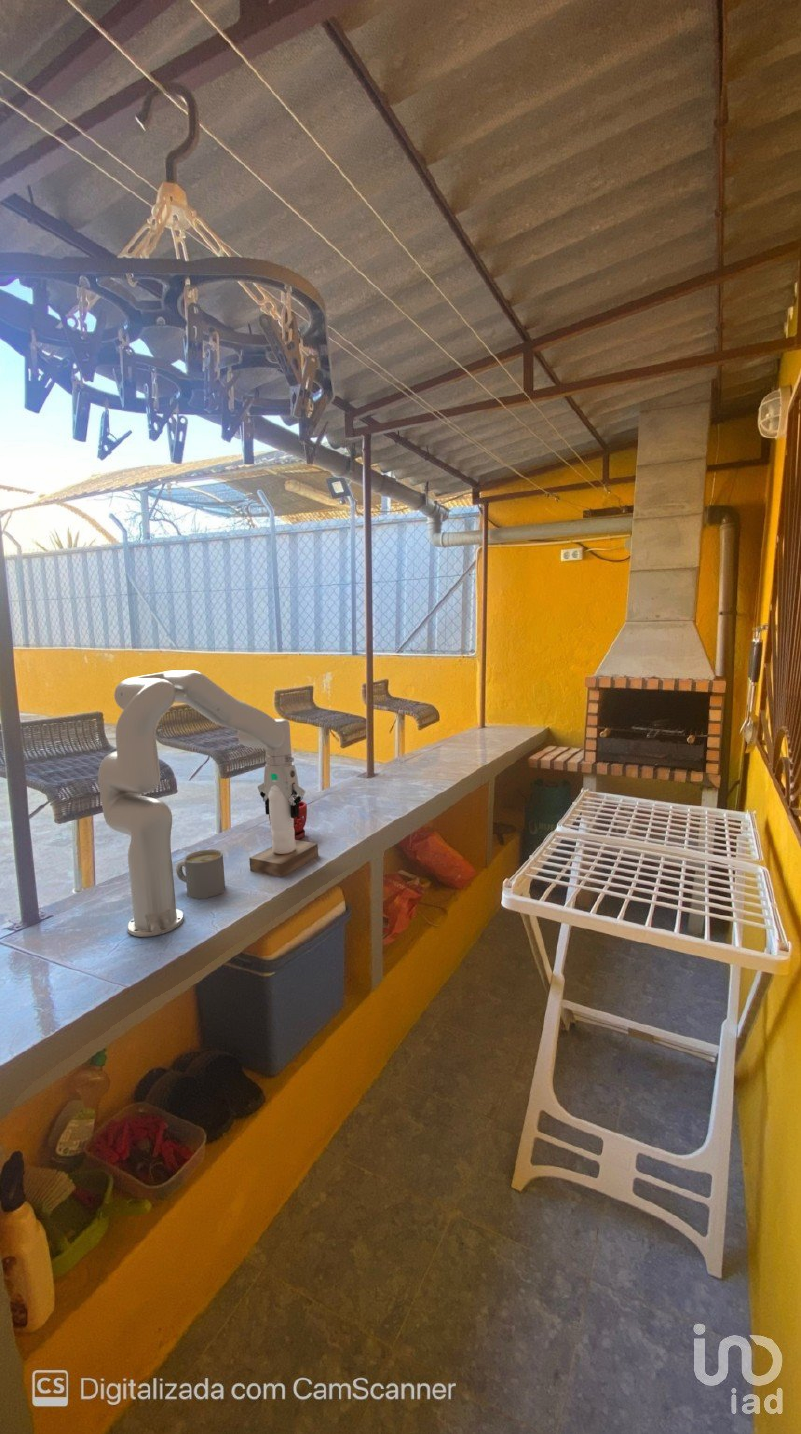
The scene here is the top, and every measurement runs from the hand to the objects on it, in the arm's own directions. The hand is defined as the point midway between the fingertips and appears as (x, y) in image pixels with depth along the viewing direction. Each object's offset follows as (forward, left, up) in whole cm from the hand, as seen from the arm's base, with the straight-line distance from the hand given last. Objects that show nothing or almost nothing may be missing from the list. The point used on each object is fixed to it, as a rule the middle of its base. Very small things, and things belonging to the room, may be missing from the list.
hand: (282, 815), depth 171 cm
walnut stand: (0, 0, -15) cm, 15 cm away
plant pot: (+22, -10, -16) cm, 29 cm away
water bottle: (0, 0, -11) cm, 11 cm away
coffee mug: (-4, +26, -16) cm, 31 cm away
